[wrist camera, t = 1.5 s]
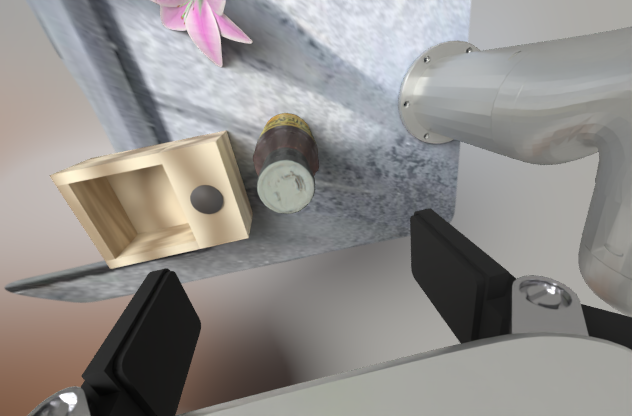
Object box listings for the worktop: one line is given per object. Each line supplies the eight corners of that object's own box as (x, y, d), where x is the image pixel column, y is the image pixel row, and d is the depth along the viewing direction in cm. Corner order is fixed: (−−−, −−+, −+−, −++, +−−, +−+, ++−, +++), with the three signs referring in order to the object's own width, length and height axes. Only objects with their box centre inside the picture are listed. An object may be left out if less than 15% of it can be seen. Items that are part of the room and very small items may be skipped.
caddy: (226, 130, 35) (215, 141, 29) (252, 213, 40) (248, 238, 34) (91, 158, 34) (48, 176, 28) (136, 239, 40) (109, 269, 33)
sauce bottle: (313, 116, 36) (350, 151, 18) (305, 161, 38) (330, 232, 20) (263, 107, 34) (249, 135, 17) (258, 154, 37) (241, 223, 19)
